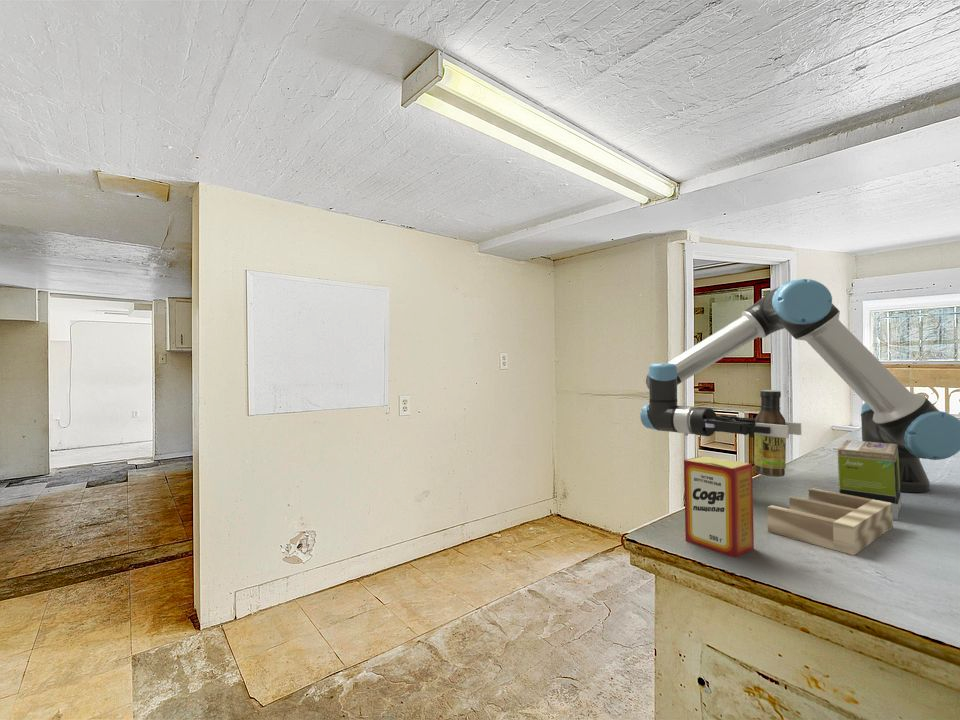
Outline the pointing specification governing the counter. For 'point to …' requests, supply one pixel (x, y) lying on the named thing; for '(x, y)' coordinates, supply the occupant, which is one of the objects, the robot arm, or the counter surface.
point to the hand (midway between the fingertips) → (794, 430)
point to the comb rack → (832, 520)
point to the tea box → (870, 472)
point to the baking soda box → (719, 504)
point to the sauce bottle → (770, 437)
